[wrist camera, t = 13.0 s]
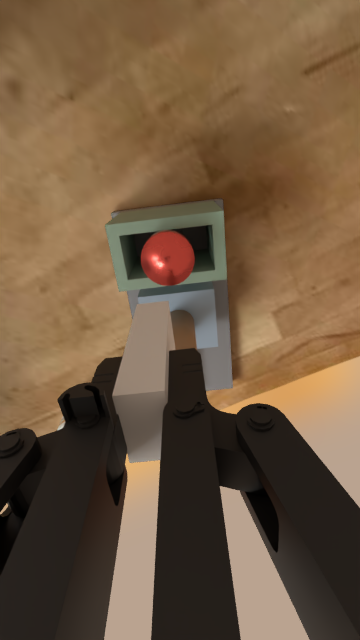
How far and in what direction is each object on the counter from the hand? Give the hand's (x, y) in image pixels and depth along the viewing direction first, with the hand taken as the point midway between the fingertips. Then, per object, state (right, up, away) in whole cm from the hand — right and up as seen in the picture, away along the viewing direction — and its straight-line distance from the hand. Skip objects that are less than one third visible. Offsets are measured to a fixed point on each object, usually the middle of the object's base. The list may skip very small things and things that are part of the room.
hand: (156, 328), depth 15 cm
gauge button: (0, +9, +19) cm, 21 cm away
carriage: (+1, +2, +23) cm, 23 cm away
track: (+1, +2, +25) cm, 25 cm away
